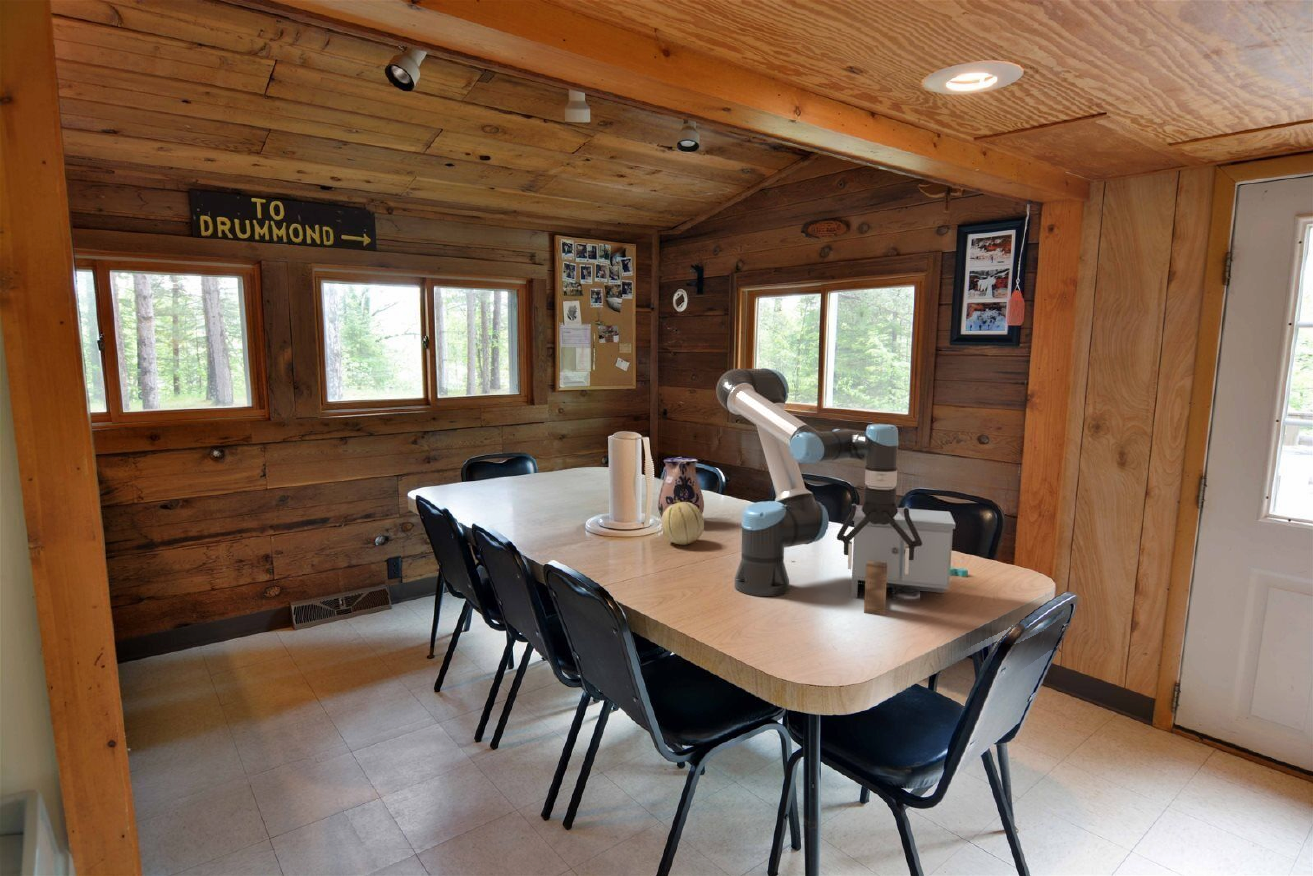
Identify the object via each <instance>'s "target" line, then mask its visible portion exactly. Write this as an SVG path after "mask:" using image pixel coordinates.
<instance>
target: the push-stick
mask: <svg viewBox="0 0 1313 876" xmlns="http://www.w3.org/2000/svg"><path fill="white" fill-rule="evenodd" d="M886 584H887V563H884V562H873V561H866V580H865V585H864V606H863V613H864V614H869V615H870V614H872V615H881V616H882V615H883V616H885V615H886V602H887V601H886V600H887V599H886V598H887V587H886Z"/></svg>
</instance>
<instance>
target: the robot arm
mask: <svg viewBox="0 0 1313 876" xmlns="http://www.w3.org/2000/svg"><path fill="white" fill-rule="evenodd" d="M715 392H716V393H715V394H716V397H717V400H718V402H719V404H721V406H722V407H723V408H724V409H725V410H727V411H728V412H730V413H732V414H734V415H741V416H742V417H743V418H745V419H746V420H748V421H750V422H751V423H753V424H754V425H755V427H756V429H757V433H758V435H759V439H760V444H761V447H762V449H763V451H762V452H763V453H764V457H765V461H766V464H767V468H768V471H769V474H770V478H771V480H772V485H773V488H774V492H775V496H776V497H775V499H774V500H773V501H771V500H768V501H757V502H754V503H753V502H752V503H751V504H748V505H747V506H746V507H744V509H743V511H742V519H741V555H740V556H741V558H740V562H739V565H738V568H737V569H736V570H737V571H736V574H735V576H734V584H733V585H734V588H735V590H737V591H739V592H740V593H744V594H747V595H752V596H758V597H774V596H782V595H783V594H784V595H785V594H786V593H788V592H789V591H790V578H789V576H788V571H787V568H786V566H785V560H784V559H785V558H784V557H785V549H786V548H790V547H796V546H801V545H810V544H812V543H815V542H818V541H820V540H822V539H823V538H824V537H825V535H826V533H827V531H828V529H829V524H830V523H829V519H830V518H829V514H828V510H827V508H826V507H825V506H824V505H823V504H822V503H821V502H820V501H817V500H815V497H814V495H813V492H812V491H810V490H809V489H807V488H806V486H805V482H804V479H803V476H802V472H801V469H800V466H799V464H800V463H801V464H815V463H816V464H817V463H823V462H831V461H832V462H833V461H841V460H842V461H843V460H844V461H845V460H856V461H862V462H864V466H865V469H864V470H865V471H864V485H866V486H865V487H864V494H863V495H864V497H863V498H864V499H863V505H862V506H859V505H860V504H856V503H854V502H853V503H852V504H851V507H850V512H849V514H848V515H847V517H846V519H845V521H844V523H843V525H842V526H841V528H840V530H839V531H838V533H837V536H836V539H837V540H838V541H841V542H842V543H843V554H844V556H848V557H847V558H848V559H847V569H848V570H852V563H853V540H852V539H854V536H855V535H856V534H857V533H858V532H859V531H860V530H861V529H862V528H863V527H864V526H865V525H867V524H868V523H869V522H871V523H873V524H882V525H886V524H888V523H890V524H891V526H892V527H893V528H894V529H895V530H896V531H897V532H898V534H899V535H900V536H901V537H902V538H903V540H904V541H905V542H906V543H907V545H908V546H906V548H905V574H908V568H909V560H913V559H914V548H915V547H917V546H921V545H922V541H921V539H920V536H919V534H918V532H917V530H916V528H915V526H914V524H913V522H912V520H911V518H910V516H909V509H910V508H909V507H908V506H904V507H897V489H896V486H897V484H898V483H897V481H898V479H897V478H898V453H899V445H900V444H899V442H900V441H899V429H898V427H897V426H895V425H894V424H883V423H881V424H879V423H877V424H876V423H874V424H868V425H867V426H866V430H865V431H864V430H855V429H849V428H835V429H833V430H828V431H819V430H817V429H815V428H813V427H811V425H808V424H807V423H805V422H803V421H802V420H800V418H798V417H796V416H795V415H793V414H791V413H789V412H788V411H786V410H785V409H786V407H787V405H786V403H787V401H788V398H789V393H790V387H789V384H788V380H787V378H786V377H785V375H783V373H781V372H780V371H779V370H777V369H772V368H771V369H770V368H767V367H765V368H761V367H760V368H733V369H730V370H727V371H726V372H725V373H724V374H722V375H721V376H720V378H719V380H718V381H717V383H716V387H715ZM861 510H862V511H863V513H864V514H865V517H864V518H863V519H862V520H861V521H860V522H859V523H858V524H857V525H856V526H855V527H854V526H853V527H854V528H852V530H850V531H849V533H847V534H846V535H845V533H846V532H847V530H848V529H849V526H850V525H851V523H852V522H853V521H852V520H853V518H854V516H855V514H858V513H859V511H861ZM897 513H900V514H901V516H902V517H905V520H906V522H907V525H908V527H909V529H910V531H911V533H912V535H913V537H914V539H915V541H912V540H911V539H910V537H909V536H908V535H907V534H906V533H905V531H904V530H903V529H902V528H901V527H900V525H899V524H898V523H897V521H896V520H895V519H894V517H895V515H896V514H897Z"/></svg>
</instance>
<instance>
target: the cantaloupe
mask: <svg viewBox="0 0 1313 876" xmlns="http://www.w3.org/2000/svg"><path fill="white" fill-rule="evenodd" d="M674 502H676V503H675V504H672V505H671V506H669V507H668V508H667V509H666V510H665V511H664V513H663V515H662V517H661V522H660V523H661V529H662V532H663V535H664V536H665V538H667V540H668V541H669V542H671V543H674V544H677V545H682V546H687V545H689V544H691V543H693V542H695V541H697V540H698V539H699V538H700V537H701V536H702V535H703V533H704V530H705V520H704V516H703V513H702V514H701V512H700V510H699V509H698V508H697V507H696V506H695V505H693V504H692V503H688V502H679V501H677V500H674Z"/></svg>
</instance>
